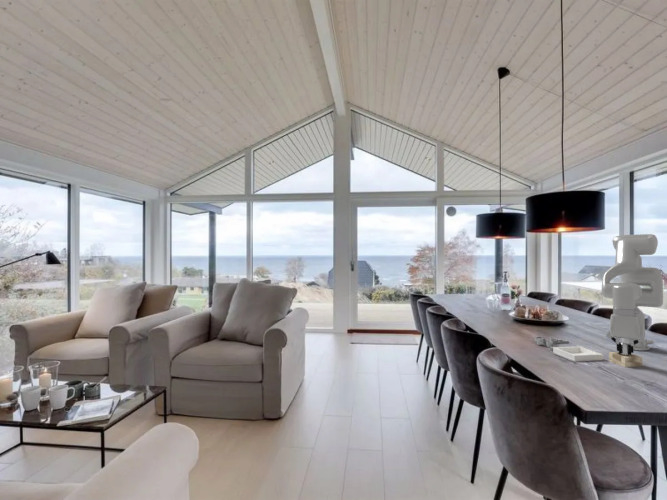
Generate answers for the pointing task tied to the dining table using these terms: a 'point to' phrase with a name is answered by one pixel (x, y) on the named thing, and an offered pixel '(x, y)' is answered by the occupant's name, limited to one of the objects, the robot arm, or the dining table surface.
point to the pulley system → (549, 342)
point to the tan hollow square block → (625, 359)
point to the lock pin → (625, 349)
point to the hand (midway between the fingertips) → (625, 353)
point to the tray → (577, 353)
